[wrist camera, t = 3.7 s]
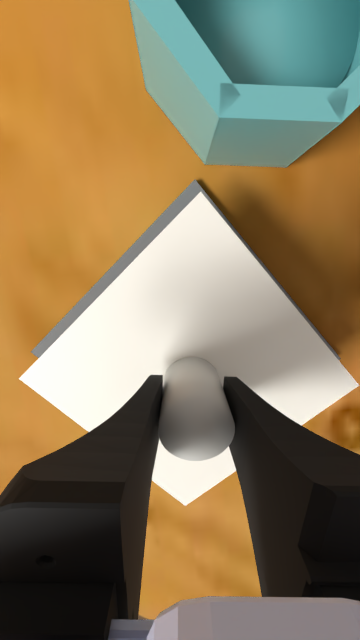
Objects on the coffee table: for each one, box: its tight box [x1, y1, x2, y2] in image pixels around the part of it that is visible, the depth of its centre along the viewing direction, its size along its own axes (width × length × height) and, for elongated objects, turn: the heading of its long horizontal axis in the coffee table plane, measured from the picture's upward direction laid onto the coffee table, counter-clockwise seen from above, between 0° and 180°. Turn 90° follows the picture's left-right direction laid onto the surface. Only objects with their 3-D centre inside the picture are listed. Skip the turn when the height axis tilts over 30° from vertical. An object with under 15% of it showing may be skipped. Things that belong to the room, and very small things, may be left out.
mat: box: [31, 180, 341, 360], centre depth 16 cm, size 15×15×1 cm
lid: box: [19, 192, 359, 506], centre depth 11 cm, size 13×13×4 cm
